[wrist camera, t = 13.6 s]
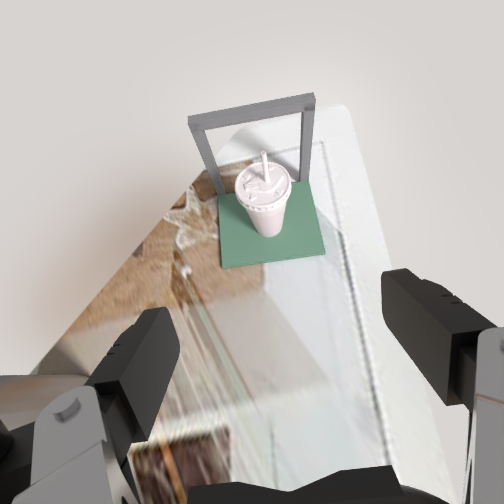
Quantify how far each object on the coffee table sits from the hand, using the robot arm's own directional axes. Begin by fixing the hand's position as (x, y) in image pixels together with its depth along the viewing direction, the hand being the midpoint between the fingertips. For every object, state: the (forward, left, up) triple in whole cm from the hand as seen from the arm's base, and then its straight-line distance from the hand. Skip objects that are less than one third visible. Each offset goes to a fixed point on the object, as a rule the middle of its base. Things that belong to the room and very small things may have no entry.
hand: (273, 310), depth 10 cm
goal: (0, +18, -25) cm, 30 cm away
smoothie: (0, +17, -24) cm, 29 cm away
